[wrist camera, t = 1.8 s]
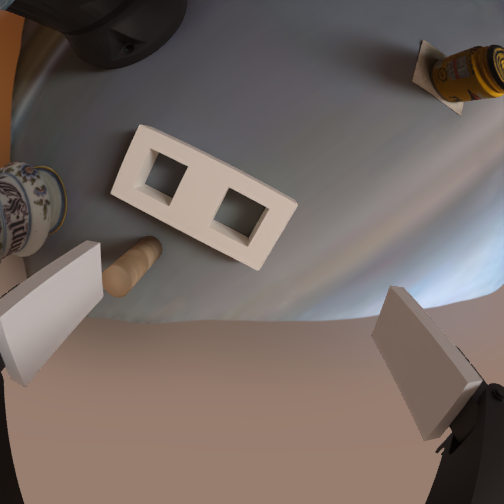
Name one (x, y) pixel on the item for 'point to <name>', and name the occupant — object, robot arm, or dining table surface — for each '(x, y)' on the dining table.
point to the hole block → (201, 196)
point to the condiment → (461, 74)
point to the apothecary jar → (29, 207)
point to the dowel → (131, 266)
